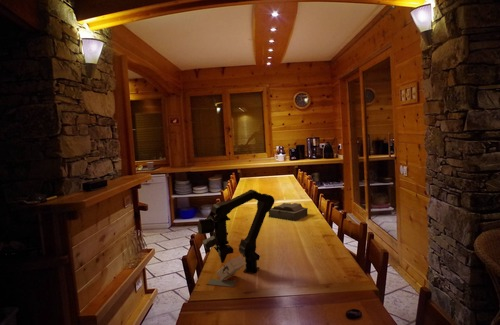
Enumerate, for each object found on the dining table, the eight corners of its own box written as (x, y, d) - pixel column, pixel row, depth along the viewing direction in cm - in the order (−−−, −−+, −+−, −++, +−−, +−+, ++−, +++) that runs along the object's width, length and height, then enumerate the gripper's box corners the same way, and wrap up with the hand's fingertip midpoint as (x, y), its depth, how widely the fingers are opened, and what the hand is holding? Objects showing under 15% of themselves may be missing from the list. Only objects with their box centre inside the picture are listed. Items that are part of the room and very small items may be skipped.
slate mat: (211, 279, 164) (211, 278, 164) (237, 281, 160) (237, 281, 160) (206, 284, 158) (206, 284, 158) (233, 287, 155) (233, 286, 155)
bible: (290, 223, 250) (289, 210, 249) (265, 216, 271) (264, 204, 269) (311, 216, 264) (311, 204, 263) (286, 211, 285) (285, 199, 284)
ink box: (228, 266, 169) (241, 254, 162) (233, 275, 167) (247, 263, 161) (215, 272, 162) (229, 259, 156) (220, 281, 160) (234, 269, 154)
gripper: (199, 227, 168) (201, 258, 170) (208, 239, 151) (210, 273, 152) (221, 224, 172) (223, 254, 173) (232, 235, 154) (234, 268, 156)
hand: (222, 262), depth 164 cm, fingers closed
